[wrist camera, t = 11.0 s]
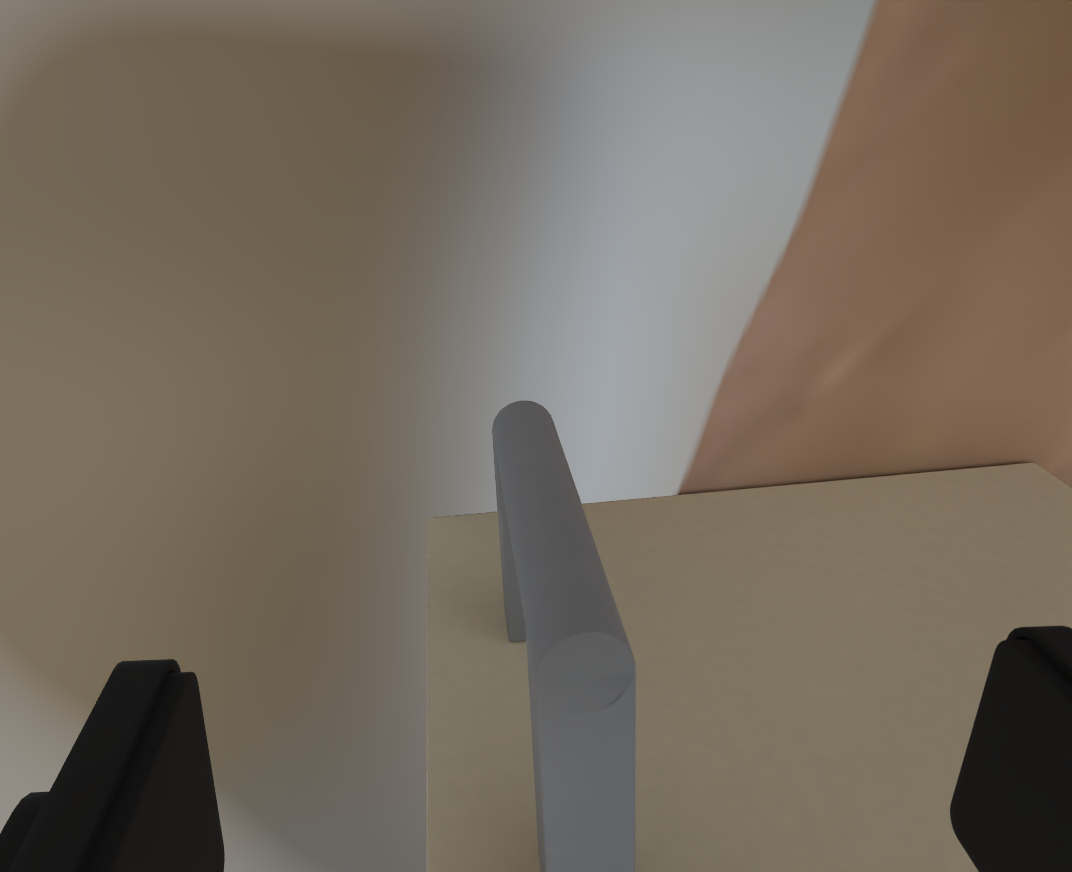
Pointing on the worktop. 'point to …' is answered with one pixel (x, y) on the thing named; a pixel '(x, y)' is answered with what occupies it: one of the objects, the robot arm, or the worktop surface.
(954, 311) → the worktop surface
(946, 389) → the worktop surface
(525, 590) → the cupboard door
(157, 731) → the robot arm
